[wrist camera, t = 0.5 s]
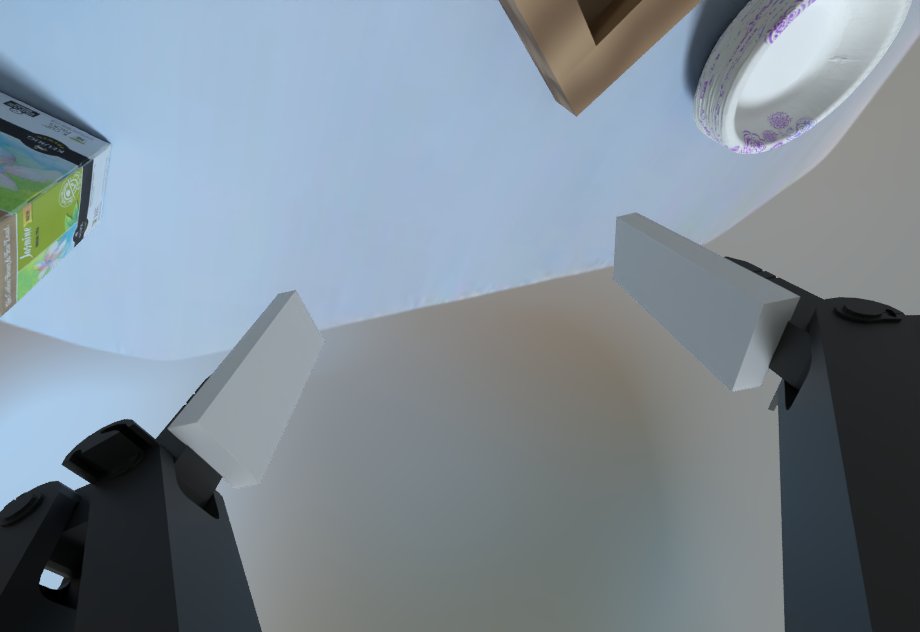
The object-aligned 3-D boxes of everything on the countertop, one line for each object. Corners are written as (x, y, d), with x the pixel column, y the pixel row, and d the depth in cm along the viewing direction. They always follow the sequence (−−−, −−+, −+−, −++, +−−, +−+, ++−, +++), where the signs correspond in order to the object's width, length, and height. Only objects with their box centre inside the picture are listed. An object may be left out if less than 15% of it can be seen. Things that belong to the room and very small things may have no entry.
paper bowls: (681, 156, 43) (725, 184, 38) (668, 35, 32) (726, 51, 27) (813, 70, 38) (884, 89, 33) (848, -105, 28) (961, -118, 22)
